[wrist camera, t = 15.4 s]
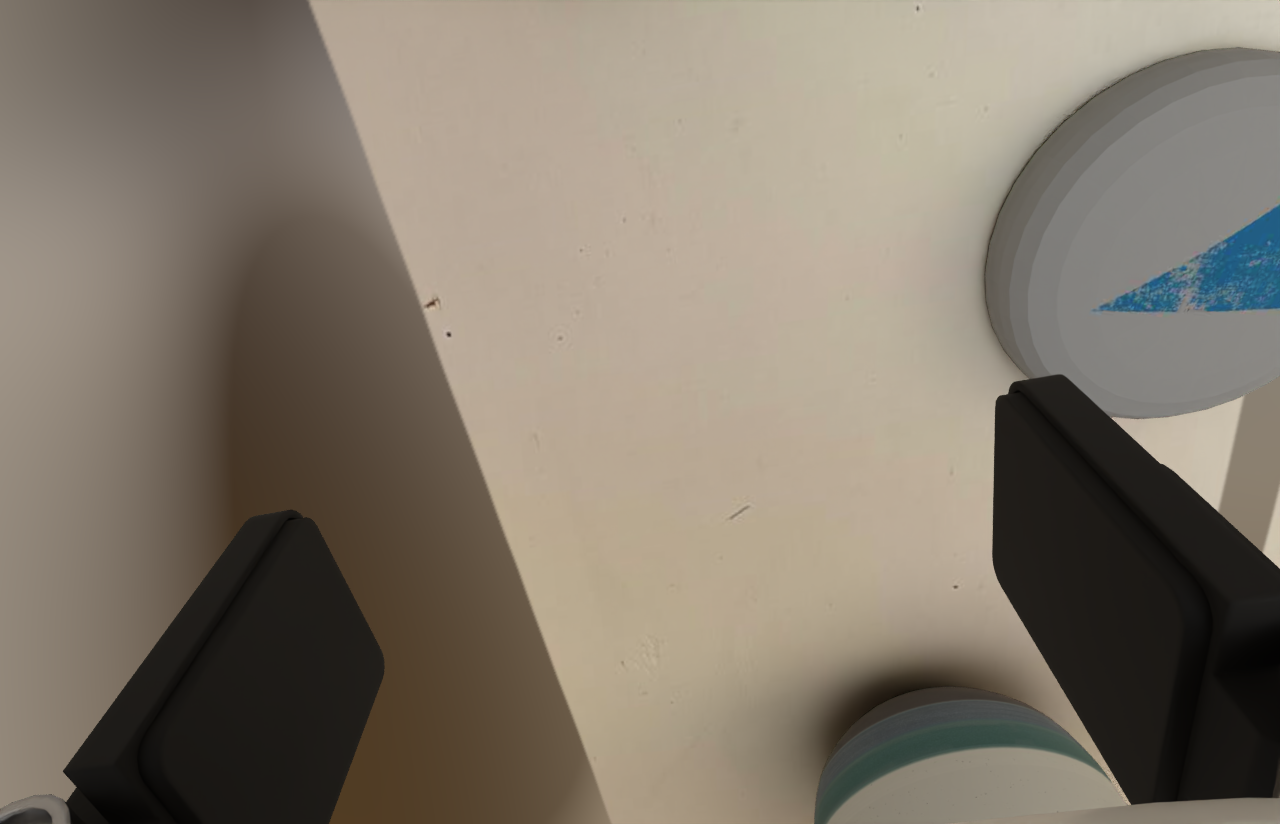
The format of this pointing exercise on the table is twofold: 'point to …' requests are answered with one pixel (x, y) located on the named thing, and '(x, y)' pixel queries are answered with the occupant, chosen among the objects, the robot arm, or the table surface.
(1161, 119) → the grey frisbee
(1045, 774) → the planter
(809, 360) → the table surface
